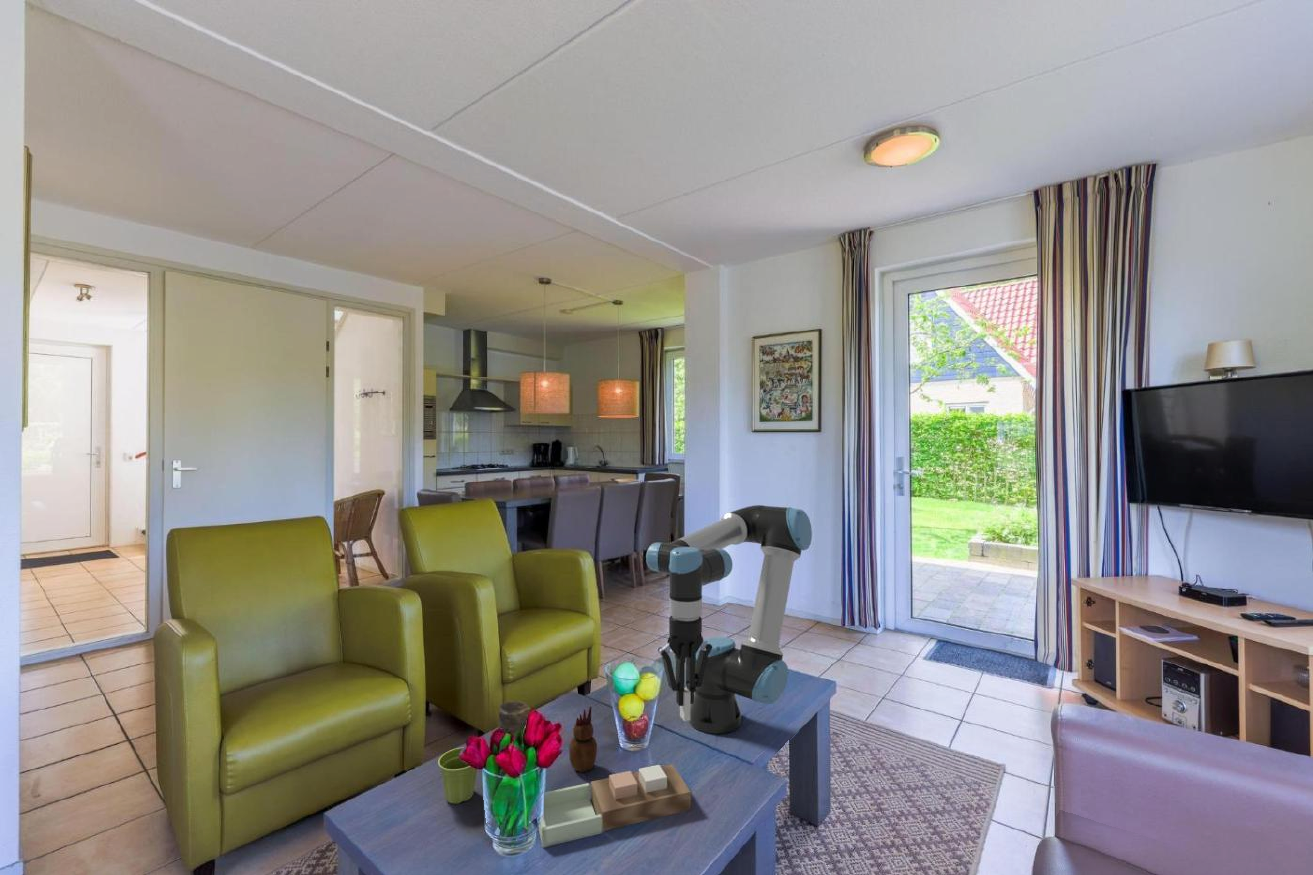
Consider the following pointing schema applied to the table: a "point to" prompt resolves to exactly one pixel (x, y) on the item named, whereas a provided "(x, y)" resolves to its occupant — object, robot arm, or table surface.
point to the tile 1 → (622, 785)
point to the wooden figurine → (583, 744)
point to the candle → (513, 716)
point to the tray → (568, 816)
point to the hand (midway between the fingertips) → (685, 718)
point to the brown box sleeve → (640, 801)
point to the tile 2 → (652, 778)
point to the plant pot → (457, 777)
